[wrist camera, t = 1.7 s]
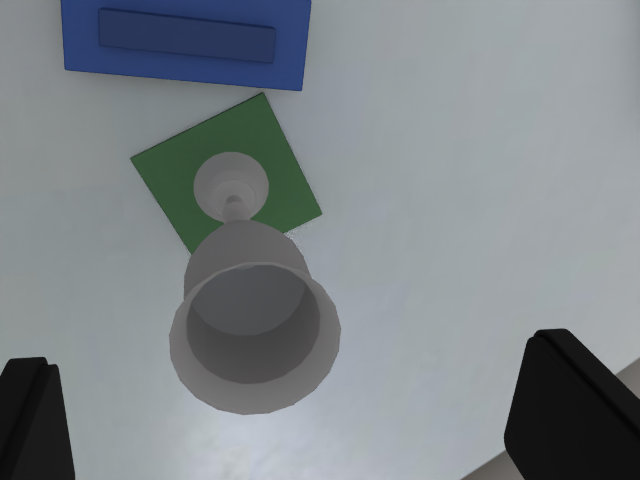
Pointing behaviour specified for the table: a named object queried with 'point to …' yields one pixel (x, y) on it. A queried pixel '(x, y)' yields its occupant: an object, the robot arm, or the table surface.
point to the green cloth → (218, 137)
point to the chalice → (249, 303)
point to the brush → (190, 40)
